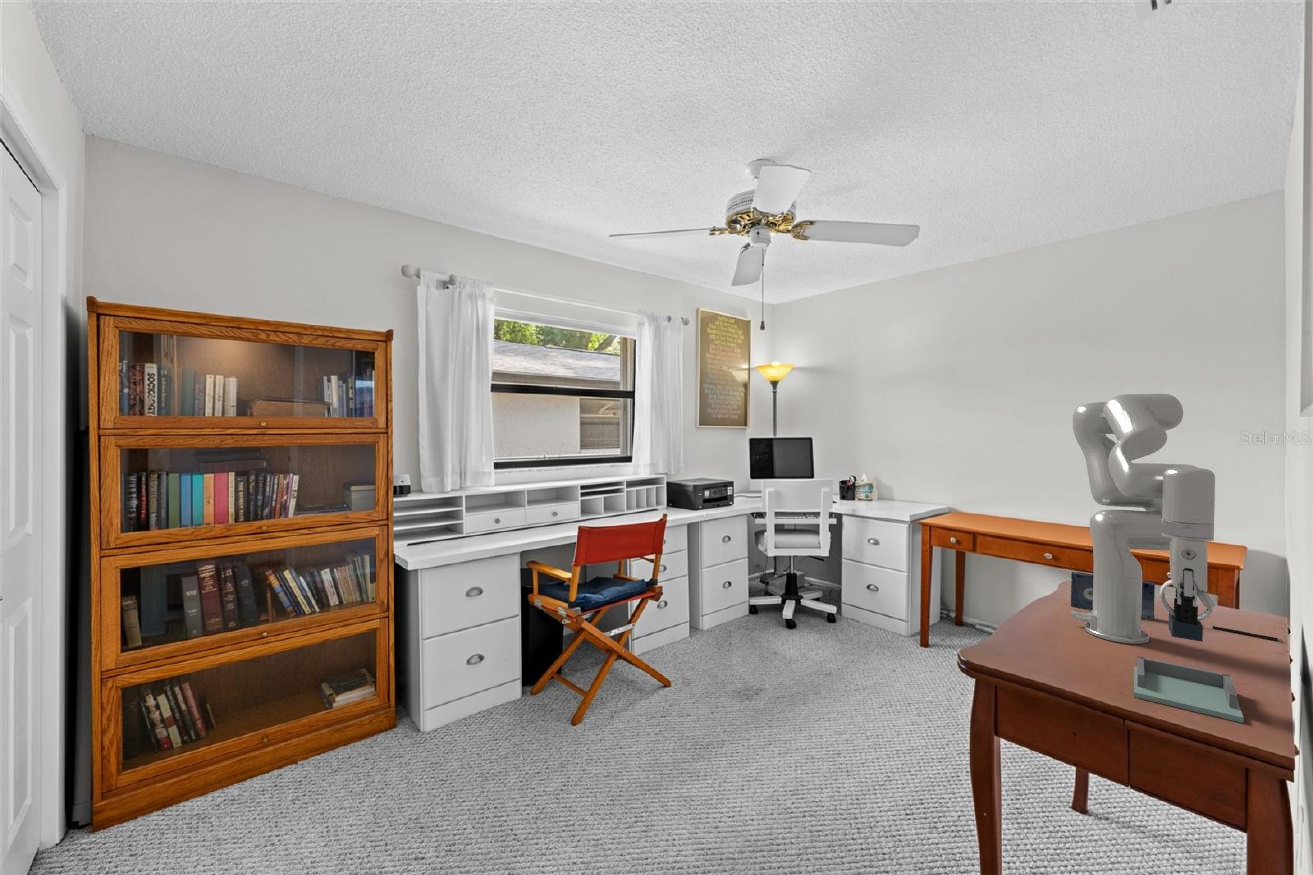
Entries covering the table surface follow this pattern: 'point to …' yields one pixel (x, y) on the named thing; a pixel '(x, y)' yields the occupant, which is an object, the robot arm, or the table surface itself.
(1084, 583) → the vhs cassette tape
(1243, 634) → the black pen
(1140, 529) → the robot arm
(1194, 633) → the watch
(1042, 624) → the table surface
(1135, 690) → the shallow grey tray
